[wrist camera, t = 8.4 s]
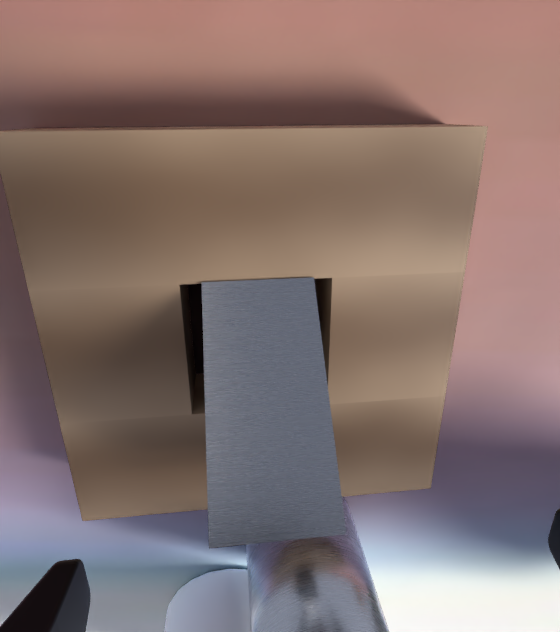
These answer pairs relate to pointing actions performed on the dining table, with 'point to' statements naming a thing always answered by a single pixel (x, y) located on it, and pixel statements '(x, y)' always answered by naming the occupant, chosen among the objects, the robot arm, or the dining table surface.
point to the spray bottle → (211, 604)
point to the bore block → (237, 265)
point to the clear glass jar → (313, 585)
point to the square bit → (267, 415)
